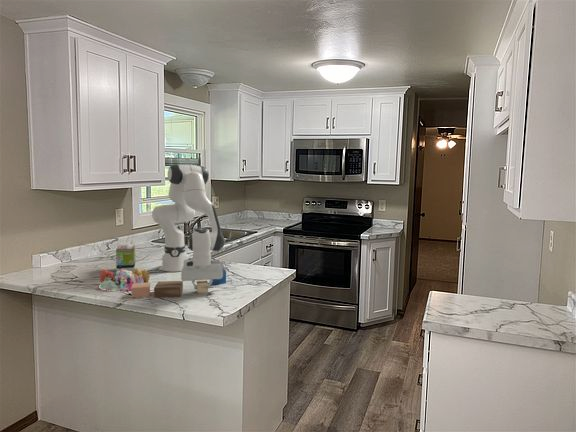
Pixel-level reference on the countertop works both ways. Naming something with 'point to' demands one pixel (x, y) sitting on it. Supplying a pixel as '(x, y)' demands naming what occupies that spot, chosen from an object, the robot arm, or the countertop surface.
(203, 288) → the maple cube
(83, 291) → the countertop surface
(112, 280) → the candy landscape model
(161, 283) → the walnut block
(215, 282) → the perfume bottle
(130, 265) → the tea box
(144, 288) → the terracotta block
